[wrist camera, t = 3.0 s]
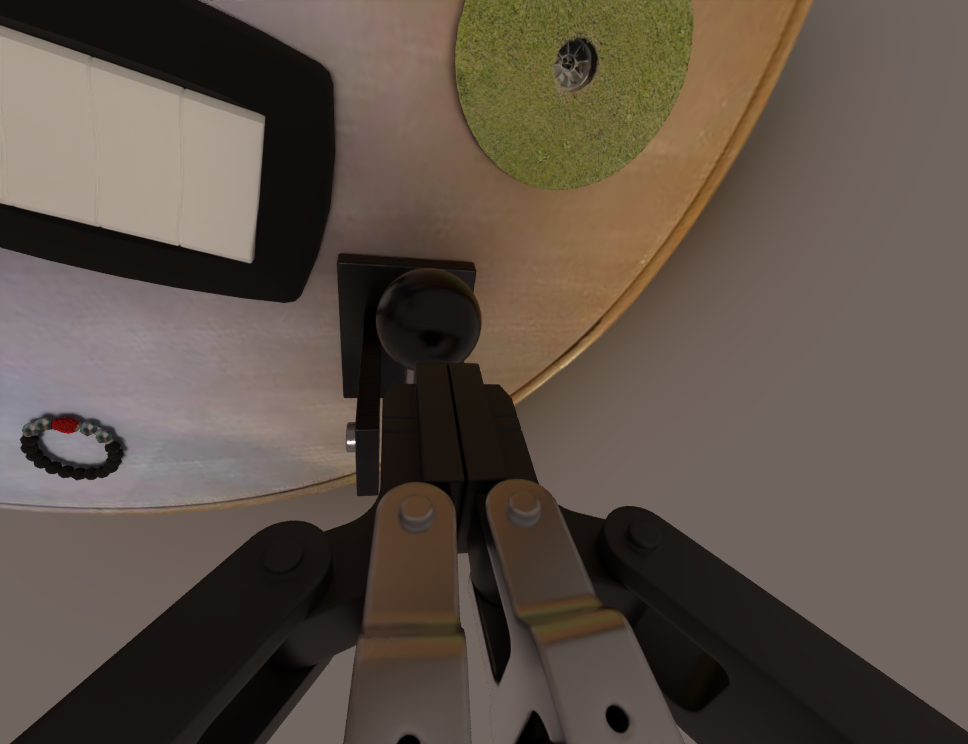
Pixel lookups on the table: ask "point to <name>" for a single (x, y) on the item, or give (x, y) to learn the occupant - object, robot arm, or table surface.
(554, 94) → the mat
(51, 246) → the light switch
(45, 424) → the bracelet
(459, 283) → the switch lever
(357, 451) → the switch bracket
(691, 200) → the table surface
